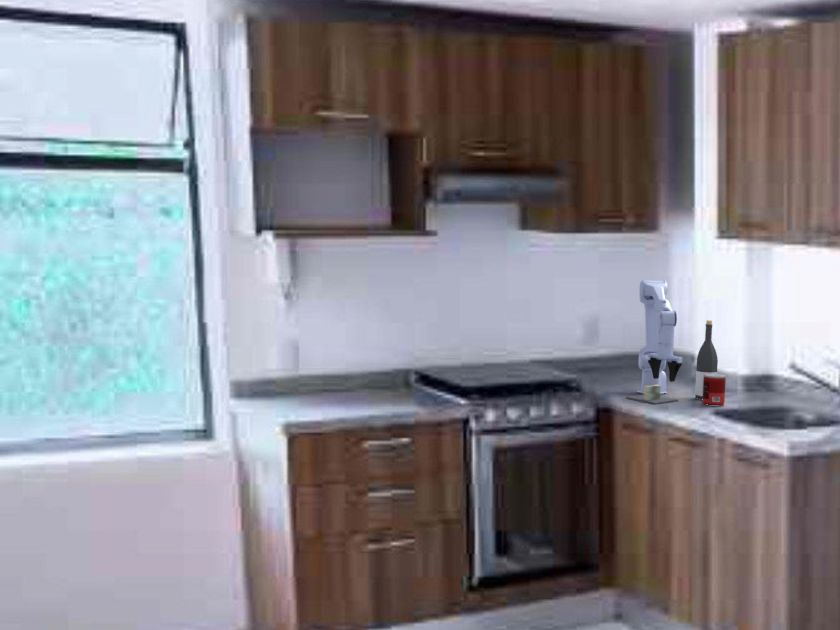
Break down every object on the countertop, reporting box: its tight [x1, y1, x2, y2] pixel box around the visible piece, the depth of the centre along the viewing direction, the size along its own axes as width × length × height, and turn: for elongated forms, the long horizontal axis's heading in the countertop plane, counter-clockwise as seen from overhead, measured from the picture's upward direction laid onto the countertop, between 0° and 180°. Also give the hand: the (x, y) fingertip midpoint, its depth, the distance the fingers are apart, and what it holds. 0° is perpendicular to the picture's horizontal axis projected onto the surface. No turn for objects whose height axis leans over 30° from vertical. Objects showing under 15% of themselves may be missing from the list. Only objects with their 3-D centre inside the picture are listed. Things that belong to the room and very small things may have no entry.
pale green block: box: [643, 385, 661, 400], centre depth 380 cm, size 7×2×5 cm, turn 127°
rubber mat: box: [625, 394, 679, 405], centre depth 382 cm, size 13×14×1 cm
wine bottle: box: [694, 319, 719, 400], centre depth 386 cm, size 8×8×30 cm
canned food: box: [702, 373, 727, 406], centre depth 375 cm, size 8×8×11 cm
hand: (664, 379), depth 376 cm, fingers open, 7 cm apart
